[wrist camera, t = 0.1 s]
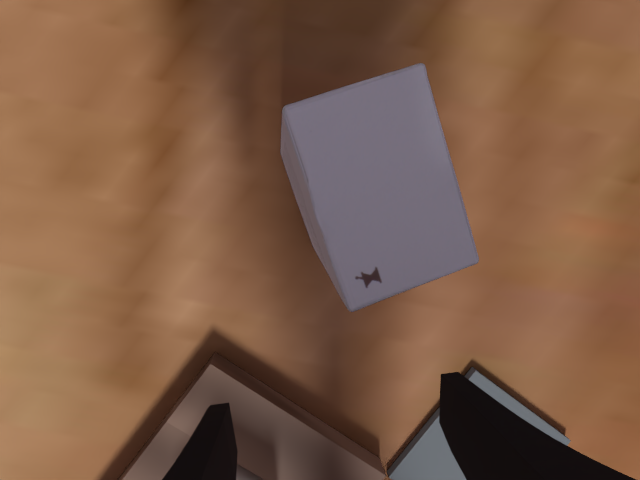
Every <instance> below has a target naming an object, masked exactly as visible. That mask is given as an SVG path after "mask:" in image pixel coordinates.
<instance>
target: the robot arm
mask: <svg viewBox="0 0 640 480" xmlns="http://www.w3.org/2000/svg"><path fill="white" fill-rule="evenodd" d="M439 423H440V425H441V428H442V430H443V433H444V435H445V438H446V440H447V443H448V445H449V447H450V450H451V452H452V454H453V456H454V458H455V459H456V461H457V463H458V465H459V467H460V469H461V470H462V472H463V474H464V476H465V478H466V480H636V479H633V478H631V477H629V476H627V475H624V474H622V473H620V472H618V471H616V470H614V469H611V468H609V467H607V466H605V465H603V464H601V463H599V462H597V461H595V460H593V459H591V458H589V457H587V456H585V455H583V454H581V453H579V452H577V451H576V450H574V449H572V448H570V447H568V446H567V445H565V444H563V443H561V442H559V441H558V440H556V439H554V438H552V437H551V436H549V435H547V434H546V433H544V432H543V431H541V430H539V429H538V428H536V427H535V426H533V425H532V424H530V423H528V422H527V421H525V420H524V419H522V418H521V417H519V416H518V415H516V414H515V413H514V412H512V411H511V410H509V409H508V408H506V407H505V406H504V405H502V404H501V403H499V402H498V401H497V400H495V399H494V398H492V397H491V396H490V395H488V394H487V393H486V392H484V391H483V390H482V389H480V388H479V387H478V386H476V385H475V384H474V383H472V382H471V381H470V380H468V379H467V378H466V377H464V376H463V375H462V374H460V373H459V372H454V373H447V374H441V386H440V413H439ZM237 453H238V451H237V445H236V439H235V434H234V428H233V422H232V417H231V411H230V405H229V403H222V404H215V405H210V406H209V407H208V408H207V410H206V412H205V413H204V415H203V417H202V419H201V421H200V422H199V424H198V426H197V427H196V429H195V431H194V432H193V434H192V436H191V437H190V439H189V441H188V442H187V444H186V445H185V447H184V448H183V450H182V451H181V453H180V454H179V456H178V458H177V459H176V461H175V462H174V464H173V465H172V466H171V468H170V469H169V471H168V472H167V473H166V475H165V476H164V478H163V479H162V480H236V473H237Z"/></svg>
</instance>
